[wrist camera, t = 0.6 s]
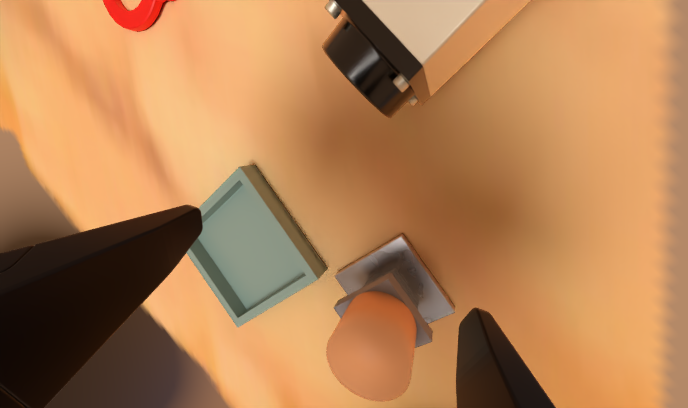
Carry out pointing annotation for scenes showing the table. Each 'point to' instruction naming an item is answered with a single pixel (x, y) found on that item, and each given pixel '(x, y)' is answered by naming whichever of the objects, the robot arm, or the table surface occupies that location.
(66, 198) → the table surface
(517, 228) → the table surface
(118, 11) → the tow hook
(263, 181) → the bin
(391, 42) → the pneumatic valve
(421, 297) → the stud fixture
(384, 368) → the tan cylindrical plug
